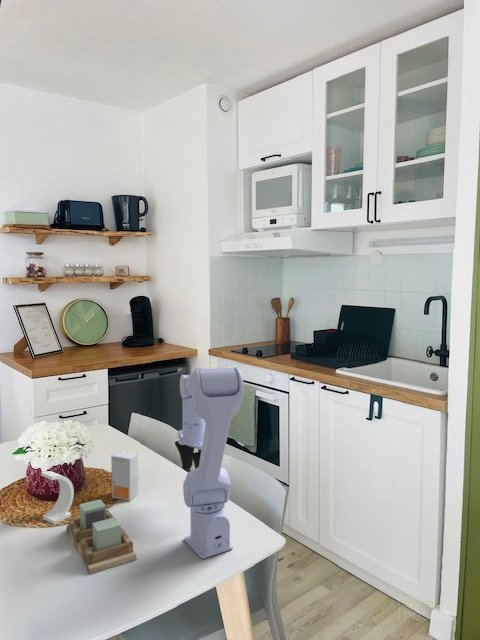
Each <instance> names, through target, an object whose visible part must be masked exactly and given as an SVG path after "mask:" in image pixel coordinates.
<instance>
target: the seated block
mask: <svg viewBox="0 0 480 640" xmlns="http://www.w3.org/2000/svg"><path fill="white" fill-rule="evenodd" d="M78 505H79V517H80V529H81V531H82V530H86V529H89V528H92V523H95V522H98V521H102V520H106V510H107V508H106V504H105V503H104V501H103V500H102V499H95V500H91V501H88V502H84V503H80V504H78Z"/></svg>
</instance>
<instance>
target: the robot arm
mask: <svg viewBox="0 0 480 640" xmlns="http://www.w3.org/2000/svg"><path fill="white" fill-rule="evenodd" d="M244 389H245V388H244V377H243V373H242V371H241V370H240V369H239V368H238V367H233V368H232V367H215V368H202V367H197V368H194V370H193V371H192V373H190V374H181V375H180V378H179V392H180V397H181V398H182V399H181V400H182V402H181V403H182V429H181V430H177V432H178V433H177V434H178V435H177V438H178V439H179V440H177V441H175V442H174V444H175V447H176V449H177V451H178V453H179V456H180V460H181V461H180V462H181V465H182V468H183V469H184V470H187V469H190V468H192V467H193V465H194V469H192V470H191V471H189V472H188V473H187V474H186V477H185V479H184V481H183V485H182V486H183V487H182V488H183V489H182V492H183V501H184V505H185V506H186V507H187V508H190V535H186V536H183V540H184V541H185V542H186V544H187V545H188V546H189V547H190V548H191V549H192V550H193V551H194V552H195V553H196V554H197V556H199V557H200V558H201V559H203V560H204V559H206V558H209V557H213V556H215V555H218V554H222V553H225V552H227V551H231V550H233V549H234V545H232V543H231V539H230V538H231V537H230V535H231V533H230V532H231V531H230V529H231V527H230V525H231V524H230V521H229V519H228V518H227V517H226V515H225V513H224V510H223V509H224V508H225V504H227V503H228V502H229V500H230V499H231V498H230V497H231V480H230V475H229V473H228V471H227V469H226V468H224V467H222V464H223V460H224V456H225V455H224V454H225V449H226V445H227V441H228V435H229V430H230V426H231V421H232V418H233V417H235V416H236V415H237V414H238V413H239V412H240V410H241V409H240V408H241V406H242V401H243V398H244V393H245V392H244ZM195 449H197V451H195ZM194 451H195V452H194Z"/></svg>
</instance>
